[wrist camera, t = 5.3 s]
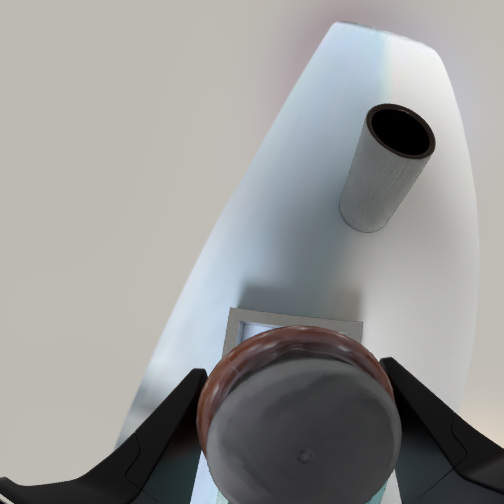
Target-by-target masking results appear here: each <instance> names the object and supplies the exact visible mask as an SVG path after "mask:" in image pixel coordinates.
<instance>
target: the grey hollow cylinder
mask: <svg viewBox="0 0 504 504" xmlns="http://www.w3.org/2000/svg"><path fill="white" fill-rule="evenodd" d="M434 150H435V137H434V134H433V132H432V130H431V128H430V126H429V125H428V124H427V123H426V121H425V120H424V119H423V118H422V117H420V116H419V115H418V114H416V113H415V112H413V111H412V110H410V109H408V108H406V107H403V106H400V105H396V104H380V105H377V106H374V107H373V108H371V109H370V110H369V111H368V113H367V115H366V118H365V122H364V125H363V129H362V132H361V136H360V139H359V142H358V146H357V149H356V152H355V156H354V159H353V162H352V165H351V168H350V171H349V175H348V178H347V181H346V184H345V187H344V190H343V193H342V196H341V200H340V211H341V214H342V216H343V218H344V220H345V221H346V222H347V223H348V224H349V225H350V226H351V227H353V228H354V229H356V230H359V231H362V232H374V231H377V230H379V229H381V228H382V227H383V226H384V225H385V224H386V223H387V221H388V220H389V219H390V217H391V216H392V214H393V213H394V211H395V210H396V209H397V207H398V206H399V204H400V203H401V201H402V200H403V198H404V197H405V196H406V194H407V193H408V191H409V190H410V188H411V187H412V185H413V184H414V182H415V181H416V179H417V177H418V176H419V174H420V173H421V171H422V170H423V168H424V167H425V165H426V163H427V162H428V160H429V159H430V157H431V155H432V154H433V152H434Z"/></svg>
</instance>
